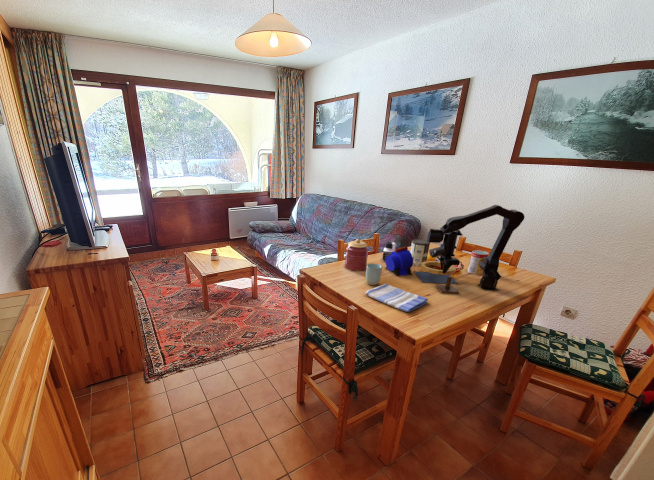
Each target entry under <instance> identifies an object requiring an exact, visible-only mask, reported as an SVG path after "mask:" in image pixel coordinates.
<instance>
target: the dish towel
mask: <svg viewBox="0 0 654 480" xmlns="http://www.w3.org/2000/svg"><path fill="white" fill-rule="evenodd" d="M365 296H367V297H369V298H371V299H374V300H376V301H378V302H380V303H382V304H385V305H388V306H390V307H392V308H395V309H398V310H400V311H402V312H405V313H411V312H412V311H415V310H417V309H419V308H422V307H423V306H425V305H427V304H428V303H429V302H428V300H429V299H428V298H427V297H425V296H422V295H419V294H416V293H413V292H409V291H406V290H403V289H402V288H399V287H395V286H393V285H390V284H389V283H384V284H382V285H379V286H378V285H377V286H376V287H373V288H370V289H368V290H367V291H365Z"/></svg>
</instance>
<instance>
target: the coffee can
mask: <svg viewBox="0 0 654 480" xmlns="http://www.w3.org/2000/svg"><path fill="white" fill-rule="evenodd" d="M430 246H431V242H427V239H419V238H417V239H416V238H415V239H412V240H411V246H410V250H409V251H410V253H411V255H412V257H413V265H412V266H418V267H420V265H421V263H422V262H425V261H426V260H427V261H428V255H429V250H430Z"/></svg>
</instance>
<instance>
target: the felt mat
mask: <svg viewBox="0 0 654 480" xmlns="http://www.w3.org/2000/svg"><path fill="white" fill-rule="evenodd" d="M413 272H414V274H415V275H416V276H417V278H418V279H419V280H420V281H421V282H422V283H425V284H426V283H427V284H443V285H446V281H447V277H448V276H451V274H450V275H439V274H433V273H429V272H426V271H413ZM450 285H459V283H458V282H457V281H456V280H455V279H454V278H453V277H452V280H451V284H450Z"/></svg>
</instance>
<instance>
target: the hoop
mask: <svg viewBox="0 0 654 480" xmlns="http://www.w3.org/2000/svg"><path fill="white" fill-rule="evenodd" d="M429 266H436V267H441V266H440V260H439V261H437V260H427V261H425V262H422V263H421V265H420V266H419V268H420V269H421V270H422V271H423V272H429V273H433V274H439V275H450V276H451V275H454V274H455V273H457V272H456V271H457V267H456V265H452V266H451V267H450V268H449V269H448V270H447V271H446V273H443V270H441V269H438V268H437V269H436V268H432V267H429Z"/></svg>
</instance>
